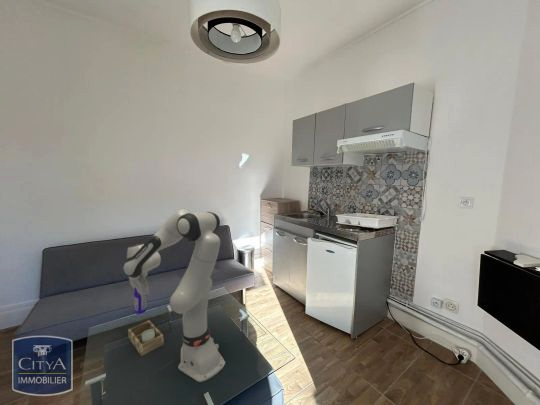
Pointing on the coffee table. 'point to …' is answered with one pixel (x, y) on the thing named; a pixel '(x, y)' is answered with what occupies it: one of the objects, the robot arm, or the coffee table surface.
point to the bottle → (139, 303)
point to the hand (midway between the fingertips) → (140, 298)
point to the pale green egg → (148, 335)
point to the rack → (136, 338)
